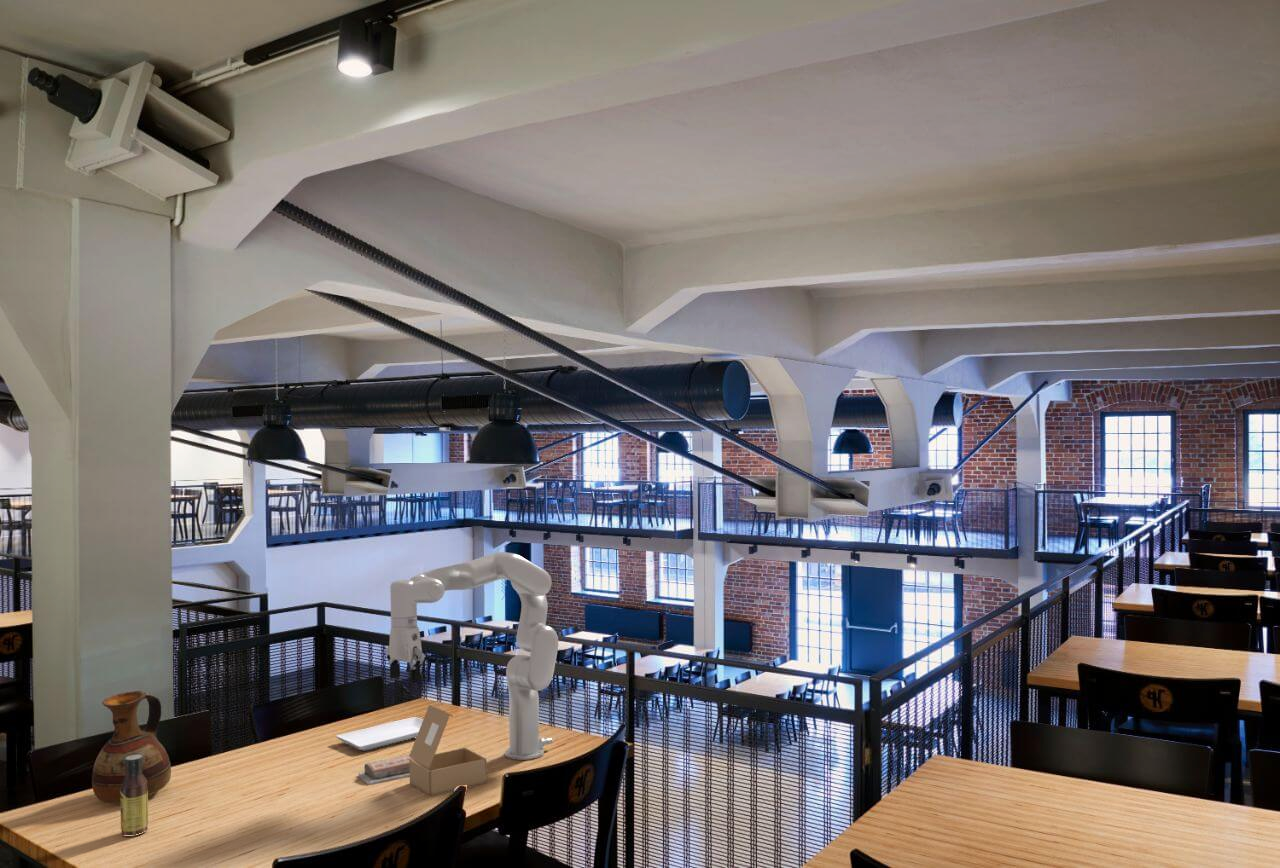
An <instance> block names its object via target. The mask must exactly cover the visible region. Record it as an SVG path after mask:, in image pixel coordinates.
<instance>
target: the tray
mask: <svg viewBox="0 0 1280 868" xmlns="http://www.w3.org/2000/svg"><path fill="white" fill-rule="evenodd" d="M423 719H424V718H421V717H418V716H414V717H408V718H404V719H399V720H395V721H391V722H386V723H383V724H379V725H375V726H371V727H367V728H363V729H357V730H353V731H349V732H343V733H340V734H336V736H335V738H337V739H338V740H339V741H341V742H343V743H344V744H347V746H349V745H350V747H352V746H353V748H354V747H355V749H356V748H357V750H359V751H361V750H362V751H361V752H367V751H370V749H371V750H374V749H373V748H375V749H378V748H377V747H379V748H381V747H380V746H383V747H385V746H384V745H387V746H389V745H388V744H391V745H393V744H392V743H394V744H396V743H395V742H398V743H400V742H399V741H402V742H404V741H403V740H406V741H409V740H408V739H410V740H412V739H411V738H414V739H416V738H415V737H417V735H418V732H419V730H420V727H421V725H422V722H423ZM366 750H367V751H366Z"/></svg>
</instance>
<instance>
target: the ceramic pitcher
mask: <svg viewBox="0 0 1280 868" xmlns="http://www.w3.org/2000/svg"><path fill="white" fill-rule="evenodd" d="M145 699H146V701H147V704H148V716H147V721H146V725H145V726H144V729H143V730H142V729H141V728H140V726H139V723H138V716H137V712H138V707H139V705H140V703H142V701H143V700H145ZM101 703H102V705H103V706H104V707H106V708H107V709H109V710H110V711H111V712H110V713H112V724H113V726H114V730H113V734H112V737H111V738H110V739H108V741H107V742H106V743H105V744H104V745H103V747H102V748H101V750H100V751H99V753H98V754H97V757H96V759H95V761H94V764H93V768H92V773H91V774H92V775H91V788H92V791H93V794H94V795H95V797H96V798H97V800H99V801H100V802H103V803H107V804H121V796H120V789H121V786H122V784H123V781H124V778H125V775H126V774H125V773H126V765H125V758H126V757H128V756H131V755H142V756H143V761H142V774H143V775H144V777H145V778H146V780H147V790H148V797H149V796H151V795H152V794H155V793H158V792H159V791H160V790H162V789H163V788H164V787H166V785H168V783H170V780H171V776H172V766H171V761H170V757H169V755H168V753H167V751H166V749H165V747H164V746H163V745H162V744H161V742H160V741H159V740H158V737H157V735H158V734H157V733H158V729H159V726H160V721H161V717H162V702H161V701H160V698H159V697H158V696H156V695H154V694H152V693H150V692H145V691H142V690H135V691H134V690H133V691H125V692H121V693H118V694H115V695H111V696H108V697H106V698H105V699H104V700H102V702H101Z"/></svg>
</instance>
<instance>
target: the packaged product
mask: <svg viewBox="0 0 1280 868" xmlns="http://www.w3.org/2000/svg"><path fill="white" fill-rule="evenodd" d="M409 755H410V754H408V755H403V756H398V757H397V756H396V757H391V758H386V759H381V760H374V761H371V762H367V763H365V764H364V770H361V771H358V777H359V778H360V779H361V781H363V782H364V783H365V784H366V785H368V786H370V785H374V784H378V783H385V782H389V781H394V779H395V780H400V779H399V778H401V779H404V778H410V759H413V758H411V757H409Z"/></svg>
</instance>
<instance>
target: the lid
mask: <svg viewBox="0 0 1280 868" xmlns="http://www.w3.org/2000/svg"><path fill="white" fill-rule="evenodd" d="M450 717H453V715H452V714H451V713H449V712H446V711H445V710H443V709H440V708H439V707H436V706H434V705H432V704H431V705H430V704H428V707H427V709H426V712H425V715H424V717H423V718H422V719H423V722H422V725H421V727H420V730H419V732H418V735H417V737H416V738H415V740H414V743H413V744H412V745H413V746H412V748H411V750H410V753H409V754H408V755H409V757H411V758H413V759H414V760H416V761H417V762H419V763H421V764H422V765H424V766H425V767H427V768H430V766H431V763H432V760H433V758H434V755H435V754H437V753H436V752H437V750H438V747H439V744H440V742H441V739H442V737H443V735H444V731H445V729H446V726H447V724H448V721H449V719H450Z"/></svg>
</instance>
